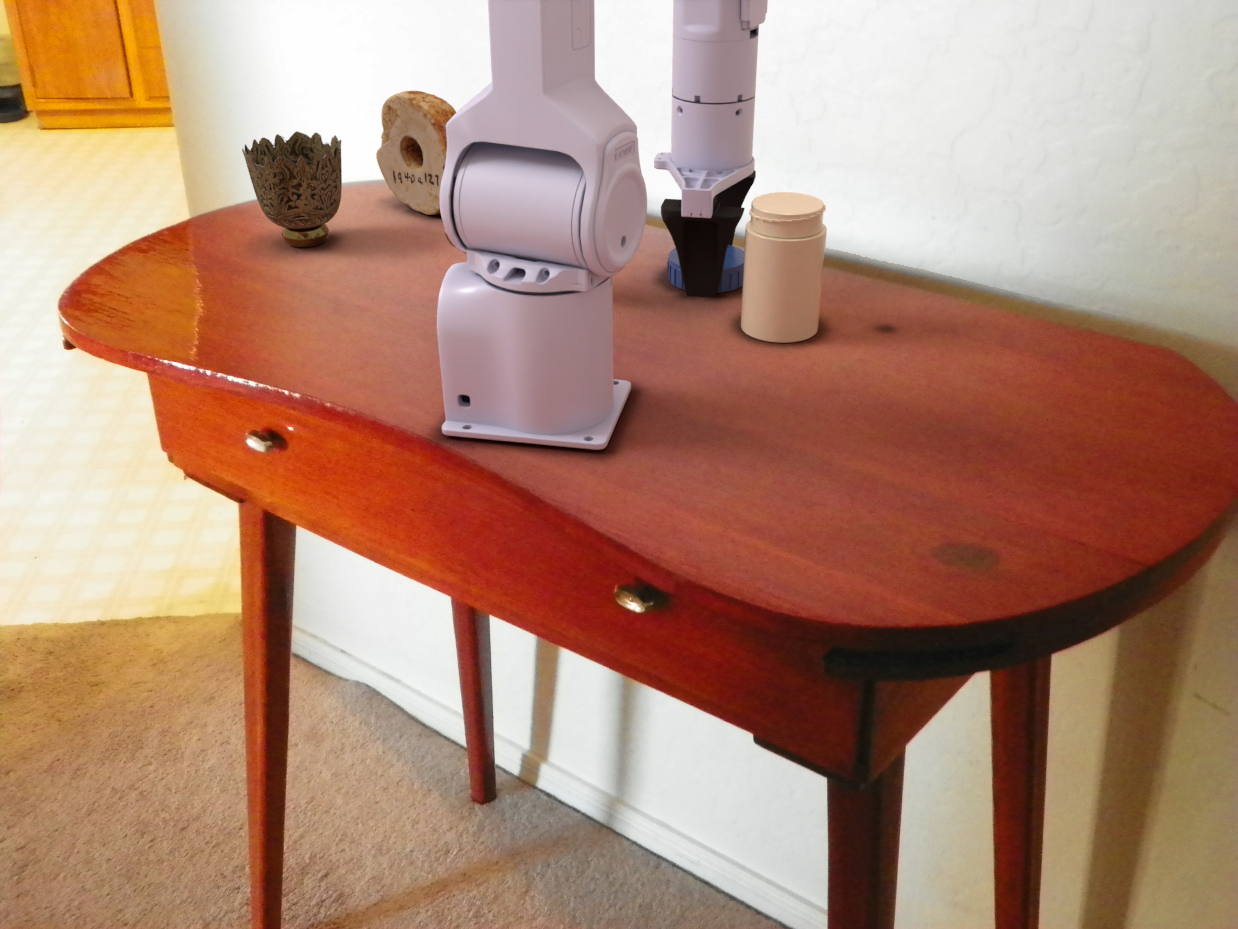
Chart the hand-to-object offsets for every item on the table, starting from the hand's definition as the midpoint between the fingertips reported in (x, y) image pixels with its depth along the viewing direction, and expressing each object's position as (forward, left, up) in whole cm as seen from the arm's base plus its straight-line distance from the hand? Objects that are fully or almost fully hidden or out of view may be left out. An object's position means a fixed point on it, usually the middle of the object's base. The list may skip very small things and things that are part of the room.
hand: (707, 281), depth 85 cm
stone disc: (-26, +12, 0) cm, 29 cm away
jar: (+6, -8, 0) cm, 10 cm away
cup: (-33, +2, 0) cm, 33 cm away
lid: (0, 0, +2) cm, 2 cm away
